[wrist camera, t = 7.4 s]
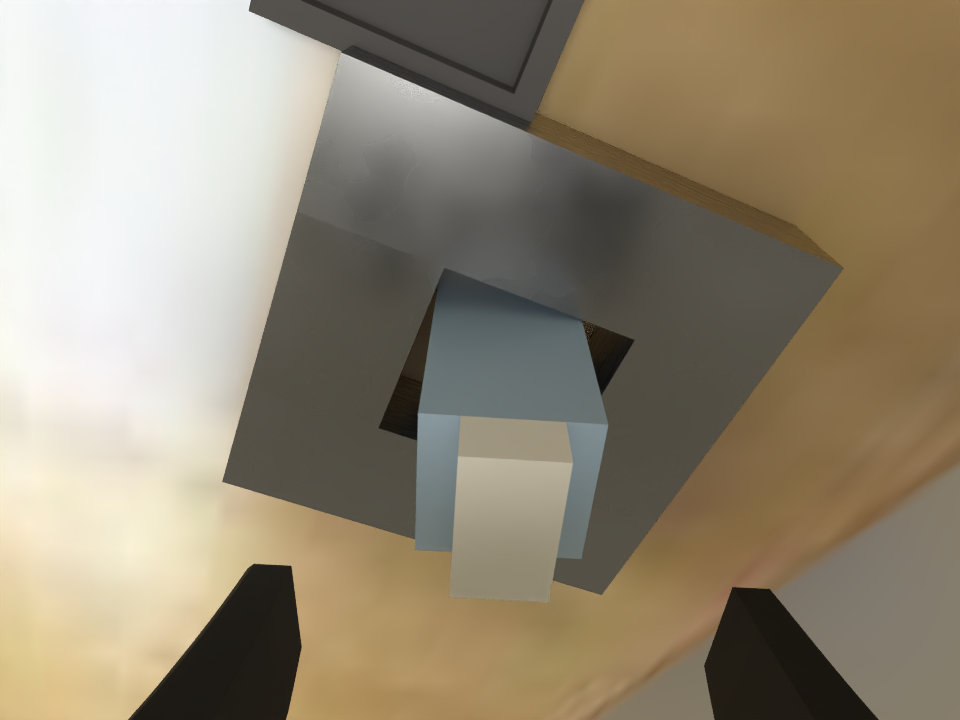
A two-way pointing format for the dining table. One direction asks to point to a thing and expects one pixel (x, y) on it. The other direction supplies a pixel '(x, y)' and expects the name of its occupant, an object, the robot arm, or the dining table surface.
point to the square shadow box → (447, 40)
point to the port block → (516, 269)
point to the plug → (505, 440)
